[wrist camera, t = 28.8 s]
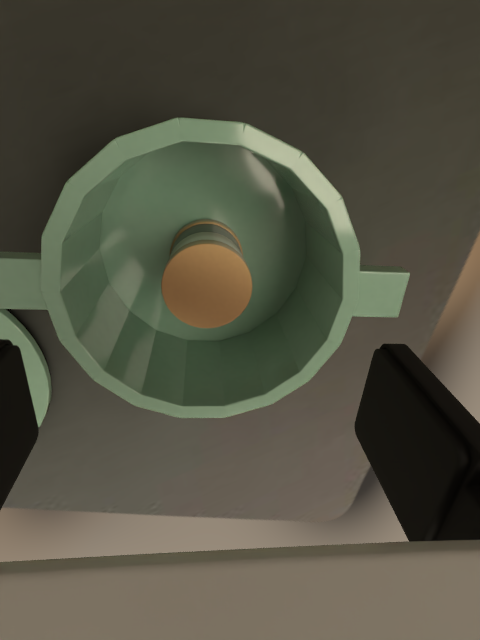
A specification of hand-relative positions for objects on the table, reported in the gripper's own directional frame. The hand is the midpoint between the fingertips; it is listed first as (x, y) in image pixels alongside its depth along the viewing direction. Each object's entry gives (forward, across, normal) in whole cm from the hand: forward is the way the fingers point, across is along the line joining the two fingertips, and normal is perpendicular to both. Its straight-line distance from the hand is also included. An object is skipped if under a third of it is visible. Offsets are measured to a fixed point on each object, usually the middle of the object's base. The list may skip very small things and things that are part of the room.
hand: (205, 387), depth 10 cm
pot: (+15, 0, +1) cm, 15 cm away
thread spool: (+14, 0, +1) cm, 14 cm away
